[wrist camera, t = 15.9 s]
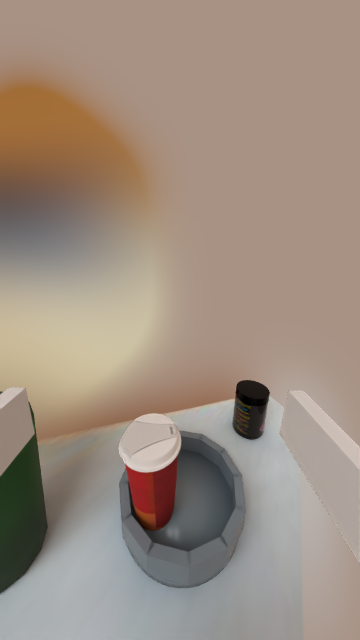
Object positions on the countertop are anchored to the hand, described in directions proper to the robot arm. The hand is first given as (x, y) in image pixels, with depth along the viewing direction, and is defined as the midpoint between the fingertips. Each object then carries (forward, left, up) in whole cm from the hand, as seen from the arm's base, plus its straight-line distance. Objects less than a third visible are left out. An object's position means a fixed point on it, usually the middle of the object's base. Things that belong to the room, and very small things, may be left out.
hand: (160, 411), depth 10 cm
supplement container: (-6, +33, -29) cm, 44 cm away
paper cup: (-10, +8, -27) cm, 30 cm away
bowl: (-8, +12, -29) cm, 32 cm away
